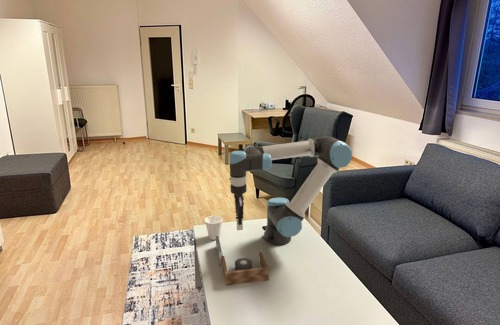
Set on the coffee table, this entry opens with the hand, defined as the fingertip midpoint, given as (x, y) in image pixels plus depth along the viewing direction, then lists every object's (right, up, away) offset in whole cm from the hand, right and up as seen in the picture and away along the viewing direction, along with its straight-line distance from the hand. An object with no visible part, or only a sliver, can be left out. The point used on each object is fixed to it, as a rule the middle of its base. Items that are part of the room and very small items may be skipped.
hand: (239, 229), depth 168 cm
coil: (+2, -18, -5) cm, 19 cm away
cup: (-15, -9, +24) cm, 30 cm away
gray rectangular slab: (-10, -14, +6) cm, 19 cm away
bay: (+2, -19, -8) cm, 21 cm away
